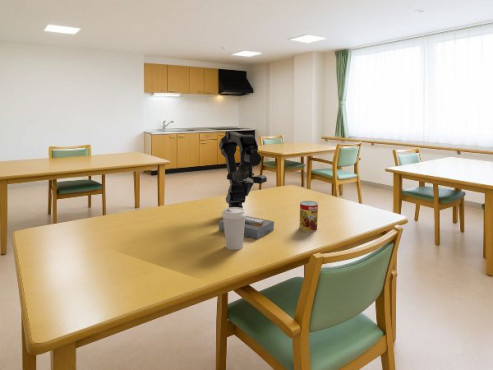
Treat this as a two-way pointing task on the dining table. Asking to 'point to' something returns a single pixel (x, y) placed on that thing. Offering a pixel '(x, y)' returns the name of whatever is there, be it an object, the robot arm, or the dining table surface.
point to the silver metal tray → (254, 228)
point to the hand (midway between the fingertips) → (246, 195)
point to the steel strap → (254, 220)
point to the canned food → (308, 216)
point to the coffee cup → (234, 227)
